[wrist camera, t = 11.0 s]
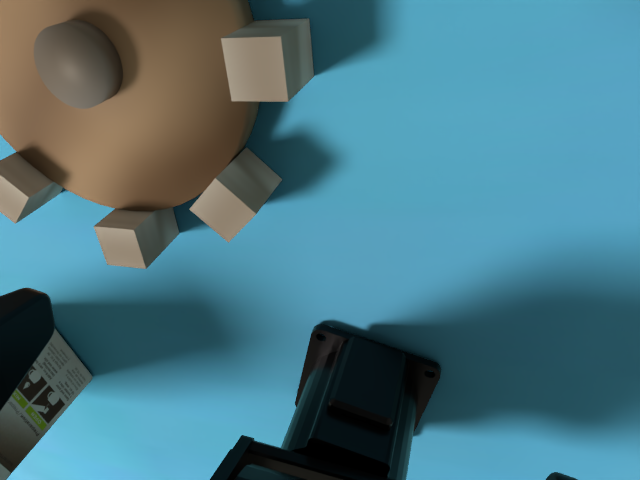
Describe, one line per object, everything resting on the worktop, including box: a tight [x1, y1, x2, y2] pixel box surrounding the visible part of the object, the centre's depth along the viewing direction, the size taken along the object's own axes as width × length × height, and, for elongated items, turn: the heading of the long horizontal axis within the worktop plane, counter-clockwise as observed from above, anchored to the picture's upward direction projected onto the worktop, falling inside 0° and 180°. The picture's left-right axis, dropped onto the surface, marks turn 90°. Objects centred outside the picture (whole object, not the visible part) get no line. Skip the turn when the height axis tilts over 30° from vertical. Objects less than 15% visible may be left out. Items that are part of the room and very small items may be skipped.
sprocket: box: [0, 0, 314, 269], centre depth 19 cm, size 23×17×3 cm
